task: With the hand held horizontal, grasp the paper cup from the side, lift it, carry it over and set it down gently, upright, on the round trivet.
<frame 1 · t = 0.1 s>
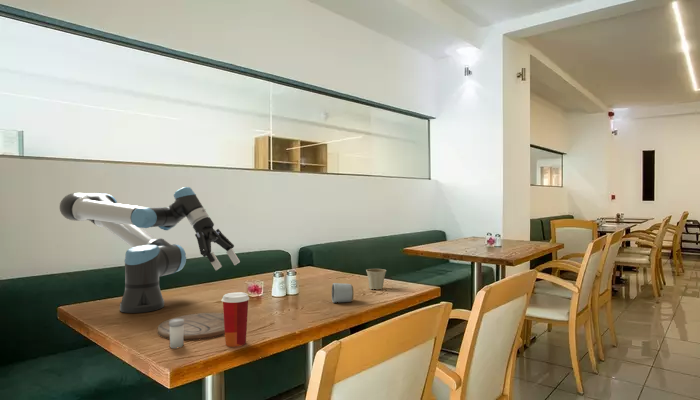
hand: (228, 265, 168), 15 cm above the table, tool tilted 35°, fingers open, 13 cm apart
ceramic mug: (341, 301, 174), on the table
trivet: (200, 329, 138), on the table
flower pot: (376, 289, 197), on the table
salt shaker: (176, 346, 120), on the table
paper cup: (235, 344, 122), on the table
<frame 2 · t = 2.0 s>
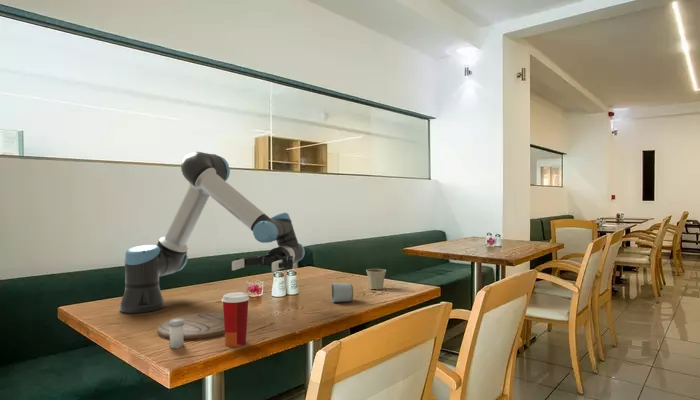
hand: (252, 266, 132), 20 cm above the table, tool horizontal, fingers open, 13 cm apart
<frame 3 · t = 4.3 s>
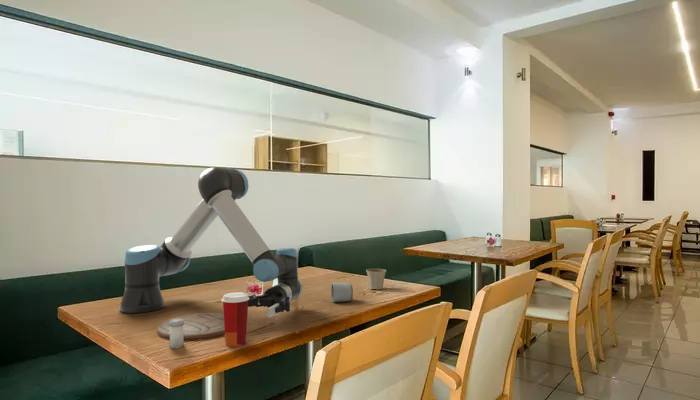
hand: (248, 311, 128), 8 cm above the table, tool horizontal, fingers open, 13 cm apart
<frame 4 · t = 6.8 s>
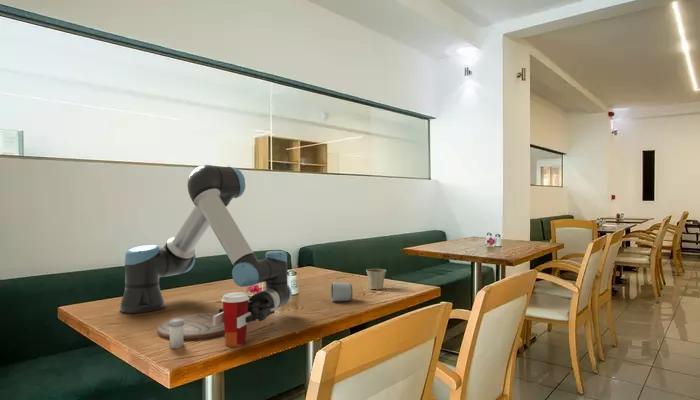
hand: (226, 322, 117), 8 cm above the table, tool horizontal, fingers closed on paper cup, 7 cm apart
paper cup: (235, 344, 122), on the table, touching gripper
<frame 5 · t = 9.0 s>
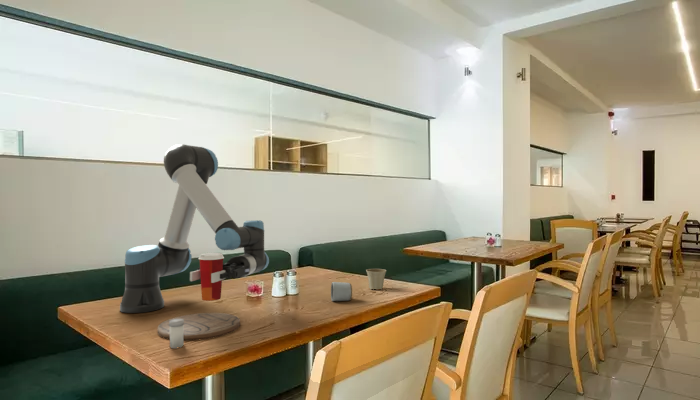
hand: (201, 277, 129), 18 cm above the table, tool horizontal, fingers closed on paper cup, 7 cm apart
paper cup: (211, 299, 133), point 10 cm above the table, touching gripper
when the fingers open (11 cm above the table, at t = 11.6 s): paper cup drops 2 cm, resting on trivet.
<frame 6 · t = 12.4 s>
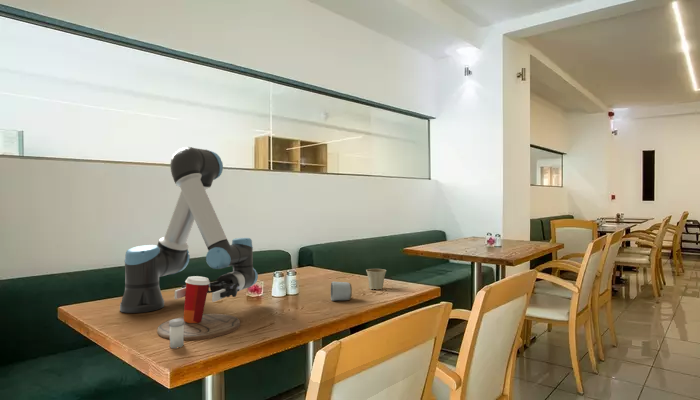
hand: (194, 296, 135), 11 cm above the table, tool horizontal, fingers open, 13 cm apart
trivet: (200, 330, 138), on the table, touching paper cup
paper cup: (192, 321, 140), point 1 cm above the table, touching gripper, trivet
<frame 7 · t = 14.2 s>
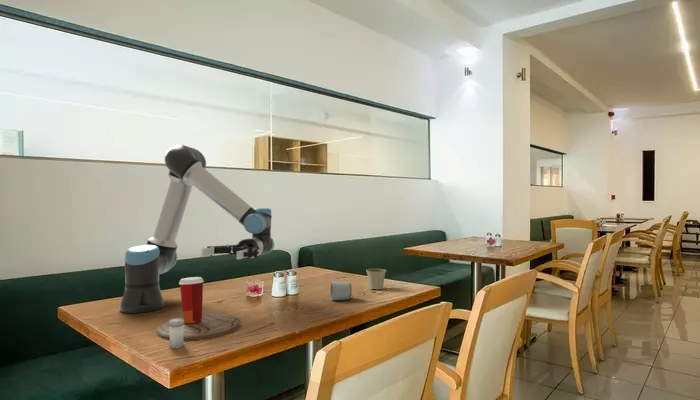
hand: (219, 254, 147), 22 cm above the table, tool horizontal, fingers open, 13 cm apart
paper cup: (192, 322, 140), point 1 cm above the table, touching trivet
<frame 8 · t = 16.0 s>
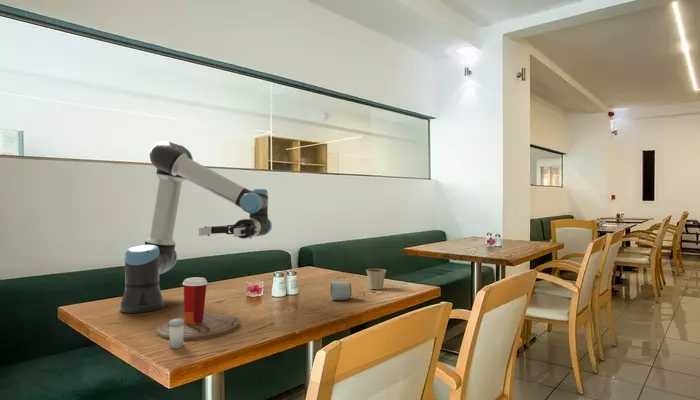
hand: (216, 232, 147), 30 cm above the table, tool horizontal, fingers open, 13 cm apart
at the end: paper cup 3.4 cm from the trivet (horizontally); paper cup tilted 3°; paper cup point 1.1 cm above the table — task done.
